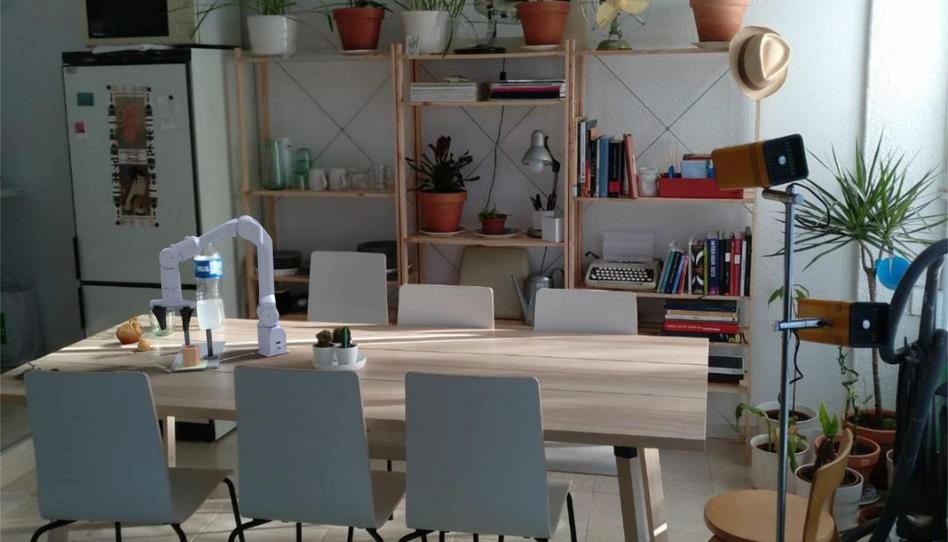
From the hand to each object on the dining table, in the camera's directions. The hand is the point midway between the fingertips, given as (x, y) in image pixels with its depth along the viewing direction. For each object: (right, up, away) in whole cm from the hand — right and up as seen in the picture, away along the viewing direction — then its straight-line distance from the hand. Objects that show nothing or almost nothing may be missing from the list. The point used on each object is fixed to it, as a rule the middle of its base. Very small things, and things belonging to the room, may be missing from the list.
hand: (174, 329), depth 316 cm
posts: (+6, -9, +6) cm, 12 cm away
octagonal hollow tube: (+7, -10, -6) cm, 14 cm away
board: (+6, -9, +6) cm, 12 cm away
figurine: (-15, -8, +13) cm, 21 cm away
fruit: (-22, -6, +25) cm, 34 cm away
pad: (+7, -11, -6) cm, 14 cm away
